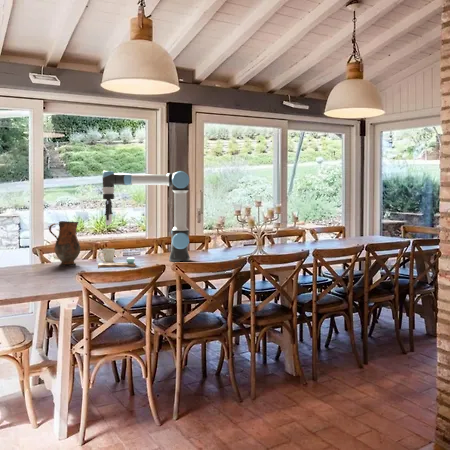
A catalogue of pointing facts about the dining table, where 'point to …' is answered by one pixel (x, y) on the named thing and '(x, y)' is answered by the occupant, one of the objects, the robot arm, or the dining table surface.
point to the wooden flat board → (115, 265)
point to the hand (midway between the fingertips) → (108, 224)
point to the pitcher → (67, 243)
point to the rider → (130, 260)
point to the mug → (107, 255)
